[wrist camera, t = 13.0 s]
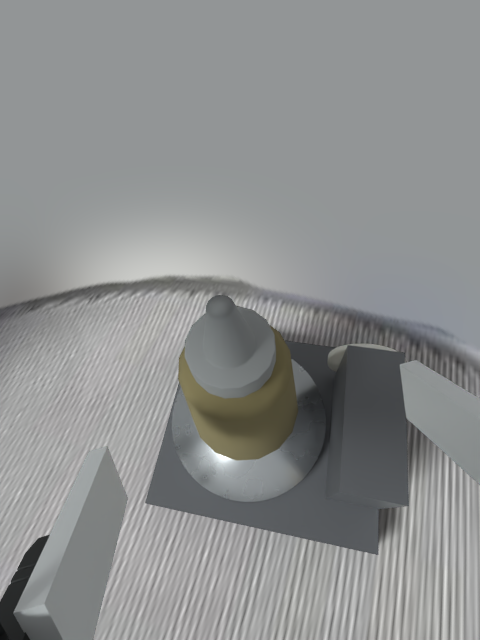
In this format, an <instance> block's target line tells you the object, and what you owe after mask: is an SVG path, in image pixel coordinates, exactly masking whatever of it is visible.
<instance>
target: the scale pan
mask: <svg viewBox="0 0 480 640" xmlns="http://www.w3.org/2000/svg"><path fill="white" fill-rule="evenodd" d="M291 361H292V368H293V375H294V382H295V389H296V397H297V405H298V414H297V418H296V421H295V425H294V428H293V432H292V433H291V434H290V436H289V437H288V438H287V439H286V440H285V442H284V443H283V444H282V445H281V447H280V448H279V449H278V450H276V451H274V452H272V453H270V454H268V455H266V456H264V457H262V458H260V459H255V460H237V461H236V460H233V459H231V458H228V457H225V456H223V455H220V454H217V453H215V452H214V451H213V450H212V449H211V448H210V447H209V446H208V445H207V444H206V443H205V442H204V441H203V440H202V439H201V438H200V436H199V433H198V431H197V428H196V426H195V423H194V421H193V418H192V415H191V413H190V410H189V407H188V404H187V402H186V399H185V396H184V393H183V391H182V388H181V389H180V391H179V393H178V395H177V398H176V401H175V404H174V409H173V415H172V434H173V440H174V444H175V448H176V451H177V454H178V456H179V458H180V460H181V462H182V464H183V465H184V467H185V468H186V470H187V471H188V473H189V474H190V475H191V476H192V477H193V478H194V479H195V480H196V481H197V482H198V483H199V484H200V485H201V486H203V487H204V488H206V489H207V490H209V491H210V492H212V493H214V494H216V495H219V496H221V497H223V498H226V499H230V500H233V501H240V502H258V501H264V500H268V499H272V498H275V497H277V496H279V495H281V494H284V493H286V492H287V491H289V490H290V489H292V488H293V487H295V486H296V485H297V484H298V483H299V482H300V481H301V480H303V478H304V477H305V476H306V475H307V474H308V472H309V471H310V470H311V469H312V467H313V465H314V464H315V462H316V460H317V458H318V456H319V454H320V452H321V449H322V445H323V442H324V437H325V430H326V416H325V408H324V404H323V401H322V397H321V395H320V392H319V390H318V388H317V386H316V384H315V383H314V381H313V379H312V378H311V377H310V375H309V374H308V373H307V372H306V371H305V370H304V369H303V368H302V366H300V365H299V364H298V363H297V362H296V361H294V360H293V359H291Z"/></svg>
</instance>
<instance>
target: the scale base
mask: <svg viewBox="0 0 480 640" xmlns="http://www.w3.org/2000/svg"><path fill="white" fill-rule="evenodd" d="M285 343H286V344H287V346H288V348H289V349H290V354H291V359H293V360H294V361H296V362H297V363H298V364H299V365H300V366H302V368H303V369H304V370H305V371H306V372H307V373H308V374H309V375H310V377H311V378H312V379H313V381H314V383H315V384H316V386H317V388H318V390H319V392H320V395H321V397H322V401H323V404H324V408H325V416H326V430H325V437H324V442H323V445H322V449H321V452H320V454H319V456H318V458H317V460H316V462H315V464H314V465H313V467H312V469H311V470H310V471H309V472H308V474H307V475H306V476H305V477H304V478H303V480H301V481H300V482H299V483H298V484H297V485H296V486H295V487H293V488H292V489H290V490H289V491H287V492H286V493H284V494H281V495H279V496H277V497H275V498H272V499H268V500H264V501H258V502H240V501H233V500H230V499H226V498H223V497H221V496H219V495H216V494H214V493H212V492H210V491H209V490H207V489H206V488H204V487H203V486H201V485H200V484H199V483H198V482H197V481H196V480H195V479H194V478H193V477H192V476H191V475H190V474H189V473H188V471H187V470H186V468H185V467H184V465H183V464H182V462H181V460H180V458H179V456H178V454H177V451H176V448H175V444H174V440H173V434H172V415H173V409H174V404H175V401H176V398H177V395H178V393H179V391H180V389H181V385H180V382H179V385H178V388H177V392H176V395H175V399H174V402H173V406H172V409H171V413H170V417H169V420H168V424H167V427H166V431H165V434H164V438H163V442H162V445H161V449H160V452H159V456H158V459H157V463H156V467H155V470H154V474H153V477H152V481H151V484H150V488H149V491H148V495H147V499H146V502H145V503H147V504H151V505H156V506H160V507H165V508H169V509H174V510H178V511H183V512H187V513H192V514H196V515H201V516H205V517H210V518H214V519H219V520H223V521H228V522H232V523H237V524H241V525H246V526H250V527H255V528H259V529H264V530H268V531H273V532H277V533H282V534H286V535H291V536H295V537H300V538H304V539H309V540H313V541H318V542H322V543H327V544H331V545H336V546H340V547H345V548H349V549H354V550H358V551H363V552H367V553H372V554H376V555H378V526H379V509H384V508H394V507H404V506H409V500H408V460H407V419H406V412H405V404H404V396H403V388H402V380H401V372H400V364H403V363H406V359H405V353H403V352H398V351H396V350H394V349H392V348H389V347H385V346H381V345H376V344H364V343H362V344H348V345H343V346H339V347H337V348H335V347H328V346H320V345H313V344H306V343H298V342H291V341H285Z"/></svg>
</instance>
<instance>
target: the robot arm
mask: <svg viewBox="0 0 480 640" xmlns="http://www.w3.org/2000/svg"><path fill="white" fill-rule="evenodd" d="M400 372H401V380H402V388H403V396H404V404H405V412H406V418H407V419H408V420H409V421H410V422H411V423H412V424H413V425H414V426H416V427H417V428H418V429H419V430H420V431H421V432H422V433H423V434H424V435H425V436H427V437H428V438H429V439H430V440H431V441H432V442H433V443H434V444H435V445H436V446H438V447H439V448H440V449H441V450H442V451H443V452H444V453H445V454H446V455H447V456H449V457H450V458H451V459H452V460H453V461H454V462H455V463H456V464H457V465H458V466H460V467H461V468H462V469H463V470H464V471H465V472H466V473H467V474H468V475H469V476H471V477H472V478H473V479H474V480H475V481H476V482H477V483H478V484H479V485H480V399H479V398H478V397H476V396H474V395H473V394H471V393H470V392H468V391H466V390H465V389H463V388H461V387H460V386H458V385H456V384H455V383H453V382H451V381H450V380H448V379H446V378H445V377H443V376H442V375H440V374H438V373H437V372H435V371H433V370H432V369H430V368H428V367H427V366H425V365H423V364H422V363H420V362H418V361H417V360H414V361H410V362H407V363H403V364H400ZM127 500H128V497H127V495H126V492H125V490H124V487H123V485H122V482H121V480H120V477H119V475H118V472H117V470H116V467H115V464H114V462H113V459H112V457H111V454H110V452H109V449H108V447H107V446H106V447H102V448H99V449H95V450H92V451H89V453H88V455H87V457H86V459H85V461H84V464H83V466H82V468H81V470H80V472H79V474H78V476H77V478H76V481H75V483H74V485H73V487H72V489H71V491H70V493H69V495H68V498H67V500H66V502H65V504H64V506H63V508H62V510H61V512H60V515H59V517H58V519H57V521H56V523H55V525H54V527H53V529H52V532H51V534H50V535H48V536H44V537H41V538H38V539H37V540H36V542H35V543H34V544H33V545H32V546H31V547H30V549H29V550H28V551H27V552H26V553H25V555H24V557H23V559H22V561H21V563H20V565H19V567H18V571H17V572H15V574H14V576H13V578H12V580H11V584H10V585H9V586H8V588H7V590H6V592H5V594H4V596H3V598H2V599H1V601H0V640H93V638H94V634H95V630H96V625H97V621H98V617H99V613H100V609H101V605H102V601H103V597H104V593H105V589H106V585H107V581H108V577H109V573H110V569H111V565H112V561H113V557H114V553H115V549H116V545H117V541H118V536H119V532H120V528H121V524H122V520H123V516H124V512H125V508H126V504H127Z"/></svg>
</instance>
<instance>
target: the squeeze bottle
mask: <svg viewBox="0 0 480 640" xmlns="http://www.w3.org/2000/svg"><path fill="white" fill-rule="evenodd" d="M178 379H179V382H180V385H181V388H182V391H183V393H184V396H185V399H186V402H187V404H188V407H189V410H190V413H191V415H192V418H193V421H194V423H195V426H196V428H197V431H198V433H199V436H200V438H201V439H202V440H203V441H204V442H205V443H206V444H207V445H208V446H209V447H210V448H211V449H212V450H213V451H214V452H215V453H217V454H220V455H223V456H225V457H228V458H231V459H233V460H236V461H237V460H255V459H260V458H262V457H264V456H266V455H268V454H270V453H272V452H274V451H276V450H278V449H279V448H280V447H281V445H282V444H283V443H284V442H285V440H286V439H287V438H288V437H289V436H290V434H291V433H292V432H293V428H294V425H295V421H296V418H297V414H298V405H297V397H296V389H295V382H294V375H293V368H292V361H291V354H290V349H289V348H288V346H287V344H286V343H285V341H284V339H283V338H282V336H281V334H280V333H279V332H278V331H277V330H275V329H274V328H273V327H271V326H270V325H269V324H268V322H267V320H266V319H264V318H263V317H262V316H260V315H259V314H258V313H256V312H255V311H253V310H250V309H247V308H243V307H239V306H236V305H235V304H234V302H233V301H232V299H231V298H229V297H228V296H224V295H217V296H215V297H212V298H211V299H210V300H209V301H208V303H207V305H206V314H204V315H203V316H202V317H201V318H200V319H199V320H198V321H197V322H195V323H194V324H193V325H192V327H191V329H190V331H189V333H188V336H187V338H186V340H185V347H184V349H183V351H182V353H181V355H180V358H179V375H178Z"/></svg>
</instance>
